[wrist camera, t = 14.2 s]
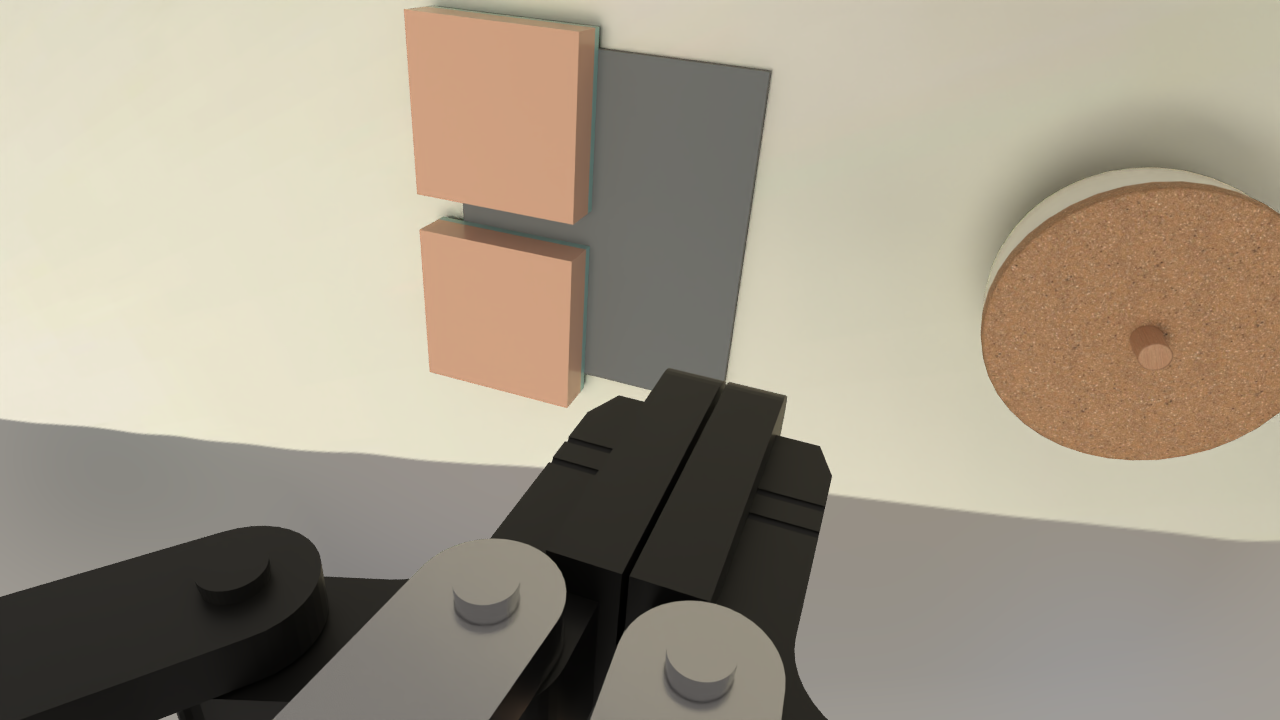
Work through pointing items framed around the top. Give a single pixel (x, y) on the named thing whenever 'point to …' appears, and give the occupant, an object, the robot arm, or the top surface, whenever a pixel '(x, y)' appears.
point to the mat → (663, 213)
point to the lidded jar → (1138, 315)
